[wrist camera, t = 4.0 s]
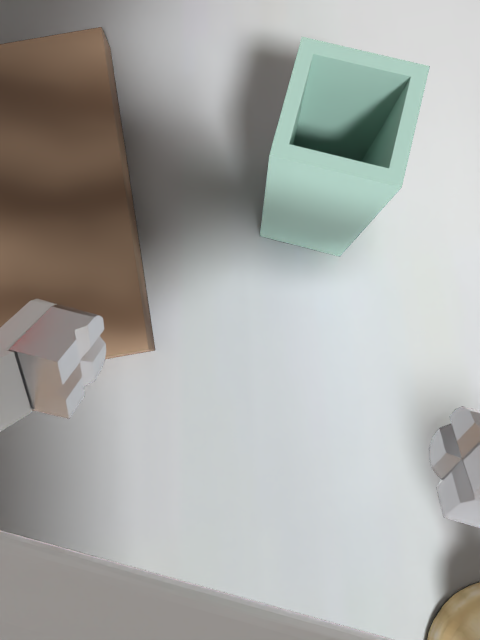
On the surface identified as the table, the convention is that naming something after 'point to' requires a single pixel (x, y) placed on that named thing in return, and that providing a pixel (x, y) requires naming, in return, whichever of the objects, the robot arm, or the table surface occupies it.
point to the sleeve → (339, 144)
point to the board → (68, 188)
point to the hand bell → (458, 617)
